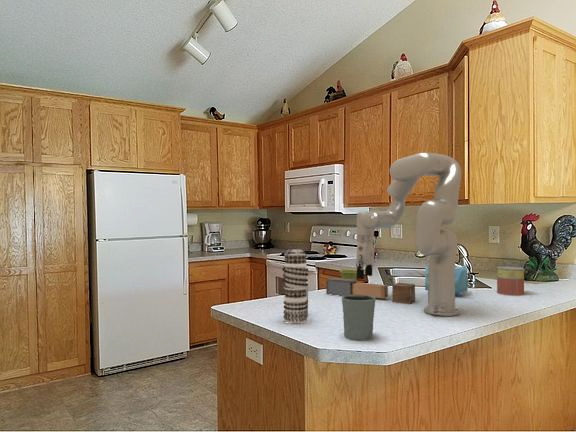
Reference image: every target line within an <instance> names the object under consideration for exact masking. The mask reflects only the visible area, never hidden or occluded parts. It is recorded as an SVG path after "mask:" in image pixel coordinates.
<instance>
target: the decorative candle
mask: <svg viewBox="0 0 576 432" xmlns="http://www.w3.org/2000/svg"><path fill="white" fill-rule="evenodd" d="M283 255H284V262H283V264H284V265H283V268H282V272H283V273H282V277H283V279H282V281H283V282H284V283H283V285H282V286H283V289H284V297H283V298H284V301H283V304H284V305H283V309H284V310H283V316H282V317H283V322H284V321H285V322H288V323H304V324H306V323H308V322H307V321H308V318H309V316H308V315H309V310H308V311H307V310H306V308H308V309H309V300H308V301H307V296H306V289H307V286H308V287H309V283H308V281H309V279H308V278H307V277H308V276H309V273H308V271H309V268H307V255H308V254H307V253H306V252H305V250H303V249H299V248H298V249H297V248H296V249H295V248H294V249H288V250H286V252H285V253H284V254H283ZM306 282H307V283H308V284H307V283H306ZM306 304H308V306H307V305H306ZM307 313H308V315H307ZM285 322H284V323H285ZM305 322H306V323H305ZM288 323H287V324H288Z"/></svg>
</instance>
